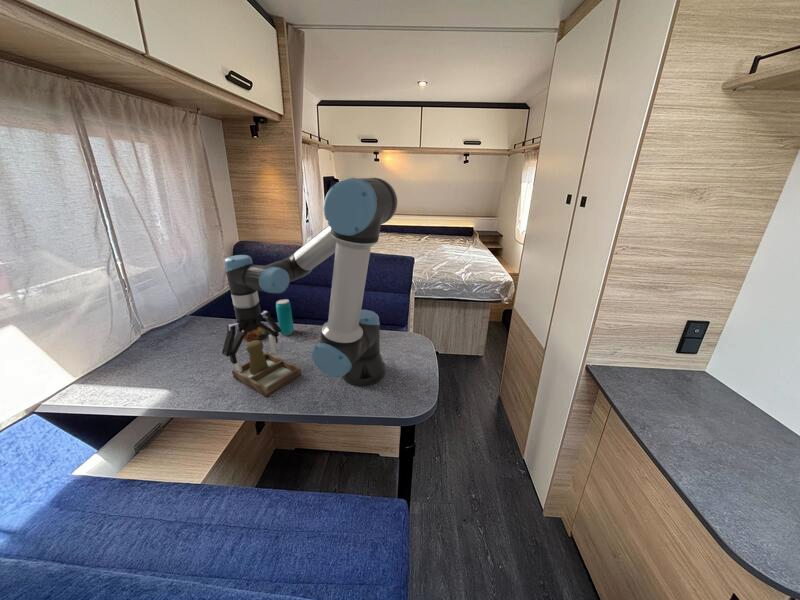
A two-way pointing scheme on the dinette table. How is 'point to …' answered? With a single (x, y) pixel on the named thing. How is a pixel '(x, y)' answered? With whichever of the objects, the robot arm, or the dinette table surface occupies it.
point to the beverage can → (284, 317)
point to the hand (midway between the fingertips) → (257, 360)
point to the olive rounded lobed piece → (256, 357)
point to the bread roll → (255, 334)
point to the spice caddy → (268, 375)
